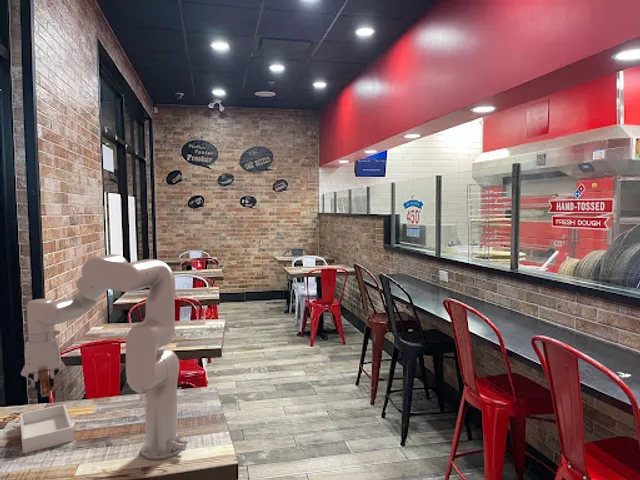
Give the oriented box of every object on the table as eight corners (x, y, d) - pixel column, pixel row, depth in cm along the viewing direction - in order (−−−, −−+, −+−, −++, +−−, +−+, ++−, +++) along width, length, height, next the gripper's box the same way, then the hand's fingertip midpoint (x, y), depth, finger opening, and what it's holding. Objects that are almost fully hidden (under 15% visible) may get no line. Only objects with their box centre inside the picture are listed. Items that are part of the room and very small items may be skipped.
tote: (20, 426, 162) (19, 413, 162) (65, 415, 170) (65, 403, 170) (22, 453, 144) (22, 439, 144) (73, 440, 152) (73, 427, 152)
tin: (51, 399, 151) (50, 373, 150) (39, 401, 149) (39, 375, 149) (47, 384, 163) (47, 361, 163) (37, 386, 162) (36, 362, 161)
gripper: (68, 330, 163) (70, 381, 164) (12, 337, 153) (15, 392, 155) (70, 335, 156) (73, 388, 158) (13, 343, 147) (16, 399, 149)
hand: (44, 389), depth 156 cm, fingers closed on tin, 2 cm apart
